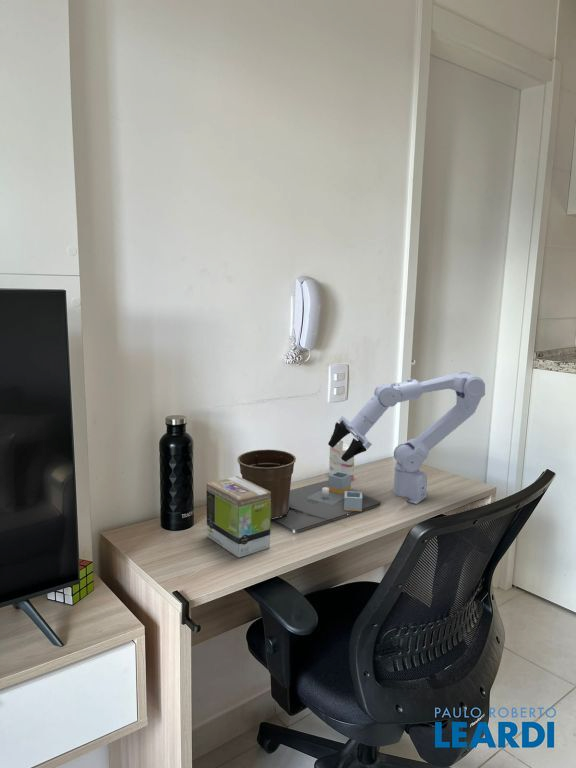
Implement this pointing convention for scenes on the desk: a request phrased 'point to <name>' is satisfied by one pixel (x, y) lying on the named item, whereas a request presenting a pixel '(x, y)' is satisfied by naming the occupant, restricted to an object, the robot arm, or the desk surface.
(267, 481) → the plant pot
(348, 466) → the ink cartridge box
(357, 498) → the loose sleeve
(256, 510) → the tea box
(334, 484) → the seated sleeve
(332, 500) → the peg board
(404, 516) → the desk surface
